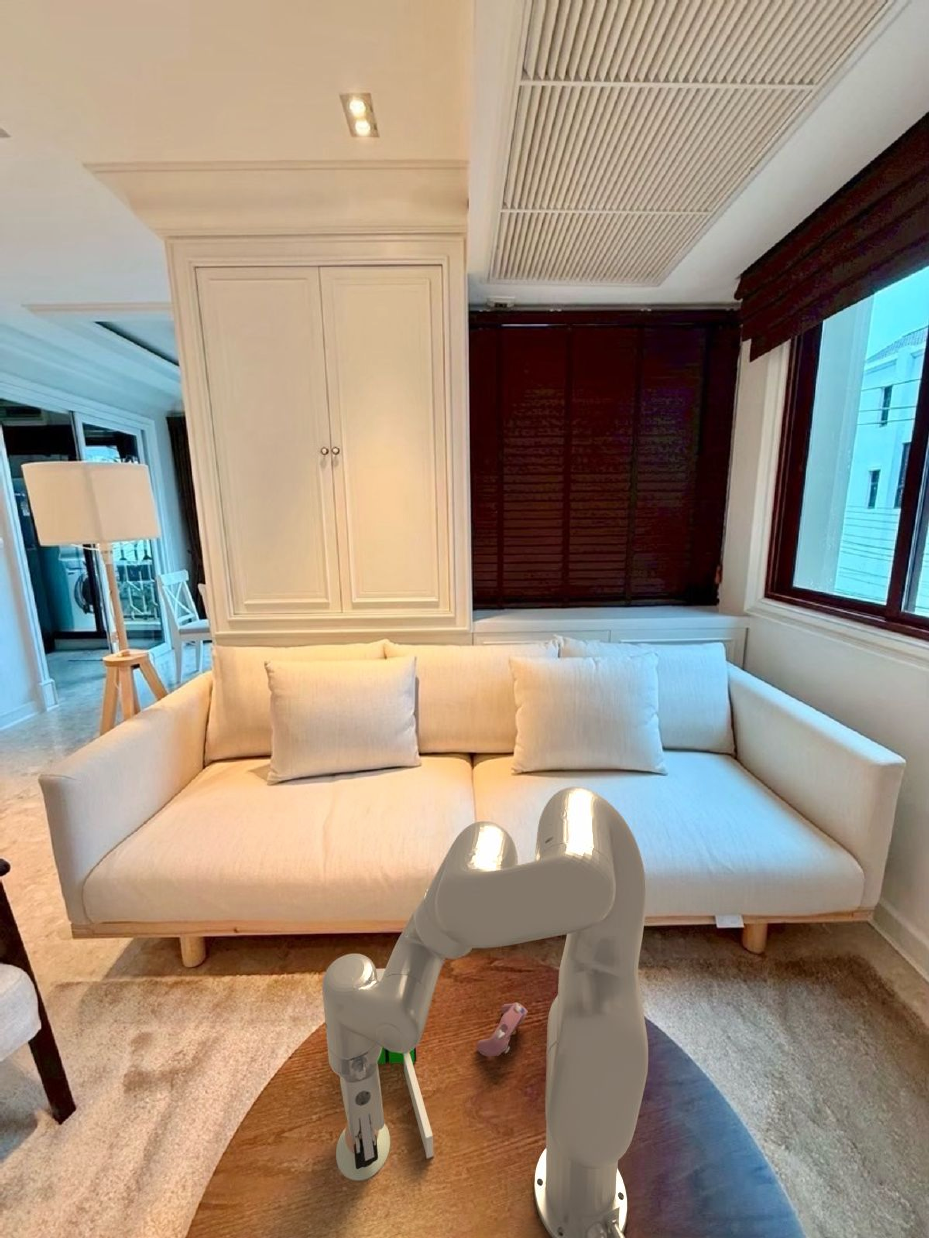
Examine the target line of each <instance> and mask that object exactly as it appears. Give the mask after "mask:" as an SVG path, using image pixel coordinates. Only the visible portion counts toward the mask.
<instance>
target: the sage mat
mask: <svg viewBox="0 0 929 1238" xmlns="http://www.w3.org/2000/svg"><path fill="white" fill-rule="evenodd" d="M345 1130H346V1127H345V1128H344V1129H343V1130H342V1131H341V1134H340V1136H339V1138H338V1141H337V1144H336V1147H335V1148H336V1150H335V1151H336V1152H335V1159H336V1164H337V1167H338V1169H339V1171H340V1172H341V1174H342V1175H343V1176H344V1177H346V1178H347V1179H349V1180H351V1181H357V1182H361V1181H365V1180H368V1179H370V1178H373V1176H375V1175H376V1174H377V1173H378V1172H379V1171H380V1170H381V1169H382V1167H383V1166H385V1165H384V1164H385V1163H386V1161H387V1159H388V1156H389V1154H390V1148H391V1136H390V1132H389V1129H388V1126H387V1125H386V1122H384V1126H383V1128H382V1129H380V1130H379V1134H378V1139H377V1150H378V1159H377V1160H376V1161H374V1162H373V1163H372V1164H371V1165H369V1166H367V1167H362V1168H359V1169H356V1165H355V1154H354V1153H352V1152H351V1151H350V1150H349V1148H348V1147H347V1144H346V1140H345Z"/></svg>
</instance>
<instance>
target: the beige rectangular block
mask: <svg viewBox="0 0 929 1238" xmlns="http://www.w3.org/2000/svg"><path fill="white" fill-rule="evenodd" d="M403 1056H404V1063H403V1070H404V1071H403V1073H404V1076H405V1080H406V1085H407V1088H408V1091H409V1095H410V1098H411V1102H412V1106H413V1111H414V1113H415V1117H416V1121H417V1127H418V1130H419V1132H420V1133H419V1134H420V1137H421V1140H422V1144H423V1148H424V1152H425V1156H426V1159H430V1158H432V1157H434V1156H435V1155H434V1138H433V1137H434V1135H433V1131H432V1127H431V1125H430V1119H429V1117H428V1114H427V1110H426V1107H425V1103H424V1099H423V1095H422V1092H421V1089H420V1086H419V1081H418V1078H417V1075H416V1072H415V1068H414V1063H412V1060H411V1056H410V1053H409V1052H407V1053H404V1054H403Z"/></svg>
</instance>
